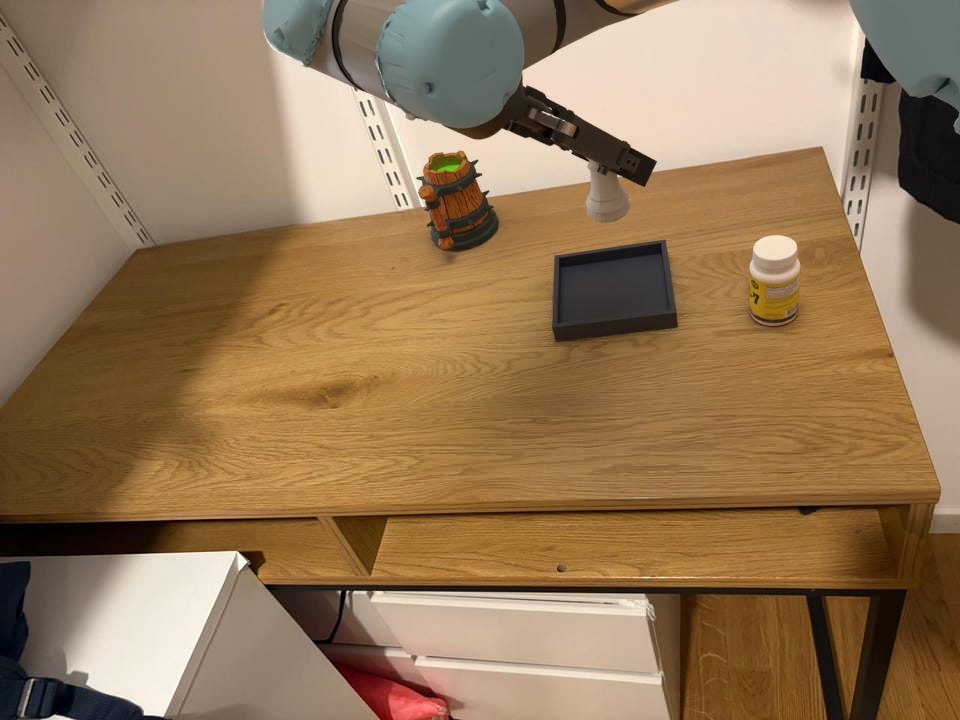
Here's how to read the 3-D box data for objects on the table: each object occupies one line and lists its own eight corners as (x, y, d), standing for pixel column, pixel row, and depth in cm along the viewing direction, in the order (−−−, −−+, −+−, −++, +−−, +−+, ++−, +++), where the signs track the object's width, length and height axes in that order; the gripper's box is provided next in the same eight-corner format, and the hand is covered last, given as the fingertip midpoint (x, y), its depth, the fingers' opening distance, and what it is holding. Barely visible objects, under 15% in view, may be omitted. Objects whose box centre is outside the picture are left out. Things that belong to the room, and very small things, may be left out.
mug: (443, 210, 108) (420, 139, 101) (509, 208, 104) (490, 133, 97) (412, 266, 100) (384, 192, 92) (482, 265, 96) (459, 188, 88)
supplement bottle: (746, 299, 80) (746, 235, 74) (794, 295, 78) (797, 229, 73) (752, 329, 76) (752, 264, 71) (801, 325, 75) (805, 258, 69)
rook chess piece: (621, 226, 73) (611, 154, 68) (580, 222, 75) (567, 152, 70) (637, 201, 76) (629, 129, 70) (597, 198, 78) (586, 128, 73)
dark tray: (677, 327, 79) (676, 312, 78) (555, 341, 82) (551, 327, 81) (666, 253, 88) (665, 239, 87) (557, 269, 92) (554, 255, 90)
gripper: (392, 102, 66) (566, 178, 81) (497, 151, 54) (676, 229, 70) (424, 17, 64) (596, 112, 79) (540, 49, 52) (715, 153, 68)
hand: (633, 167), depth 74 cm, fingers closed on rook chess piece, 3 cm apart
